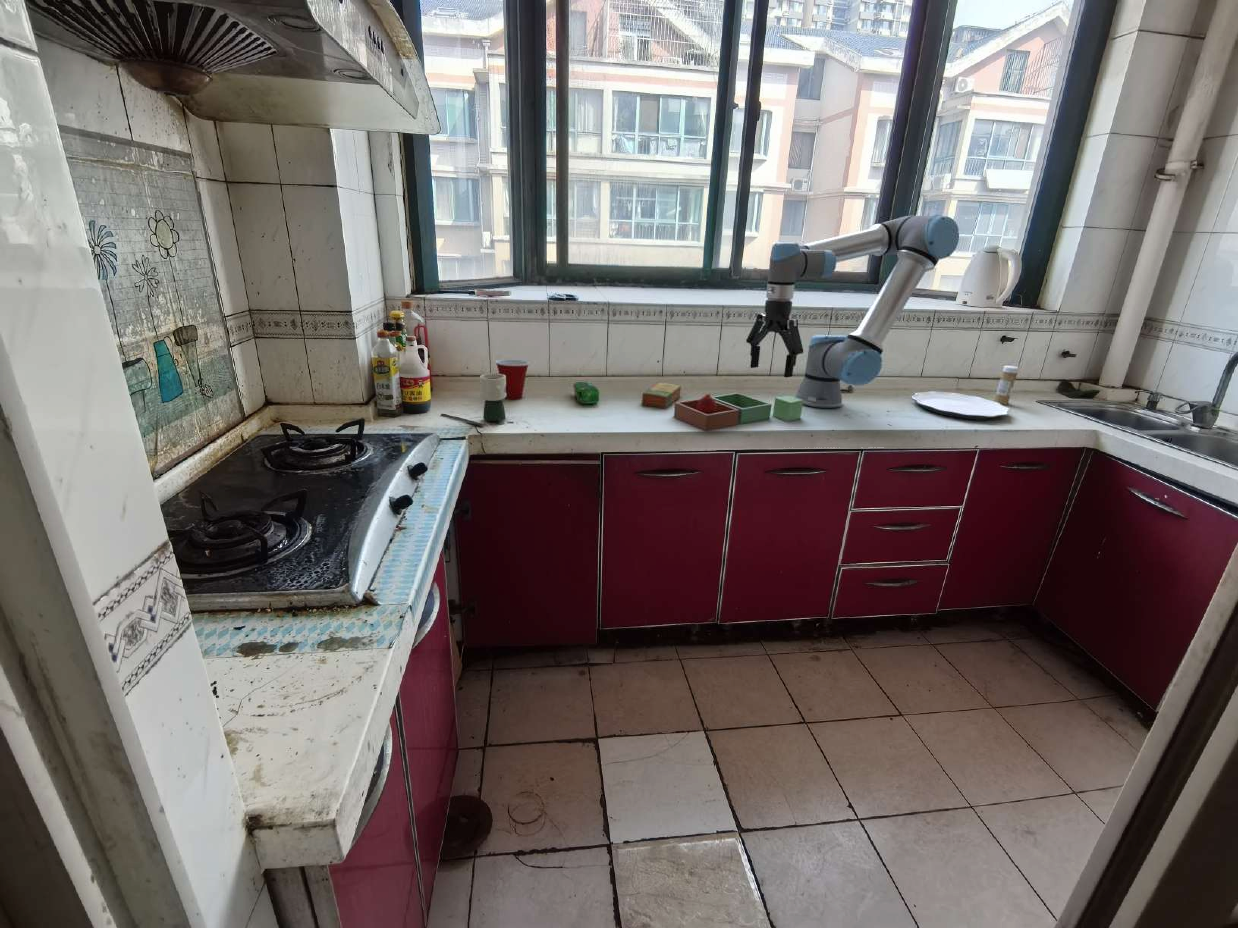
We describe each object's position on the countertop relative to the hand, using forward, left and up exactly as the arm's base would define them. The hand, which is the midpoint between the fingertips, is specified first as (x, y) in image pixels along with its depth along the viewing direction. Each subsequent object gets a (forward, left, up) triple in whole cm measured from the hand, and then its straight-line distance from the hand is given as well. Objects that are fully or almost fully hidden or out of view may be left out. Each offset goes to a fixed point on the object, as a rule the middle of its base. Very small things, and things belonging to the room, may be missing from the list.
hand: (770, 372), depth 178 cm
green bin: (+5, -6, -15) cm, 17 cm away
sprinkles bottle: (-94, +27, -15) cm, 99 cm away
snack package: (+40, -41, -15) cm, 59 cm away
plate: (-70, +24, -15) cm, 76 cm away
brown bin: (+19, -6, -15) cm, 25 cm away
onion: (+19, -6, -14) cm, 24 cm away
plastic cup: (+60, -54, -15) cm, 82 cm away
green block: (-7, +3, -15) cm, 17 cm away
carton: (+18, -29, -15) cm, 37 cm away
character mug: (+75, -34, -15) cm, 84 cm away
